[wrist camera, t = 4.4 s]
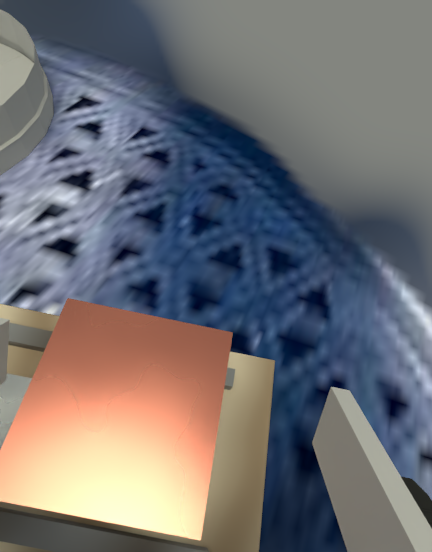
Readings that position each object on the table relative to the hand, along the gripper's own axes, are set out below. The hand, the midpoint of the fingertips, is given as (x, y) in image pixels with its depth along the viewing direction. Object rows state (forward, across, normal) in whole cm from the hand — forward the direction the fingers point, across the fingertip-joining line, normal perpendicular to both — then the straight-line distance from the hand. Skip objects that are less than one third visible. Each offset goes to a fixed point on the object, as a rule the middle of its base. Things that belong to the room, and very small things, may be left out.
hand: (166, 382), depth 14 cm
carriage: (+3, -3, -6) cm, 7 cm away
